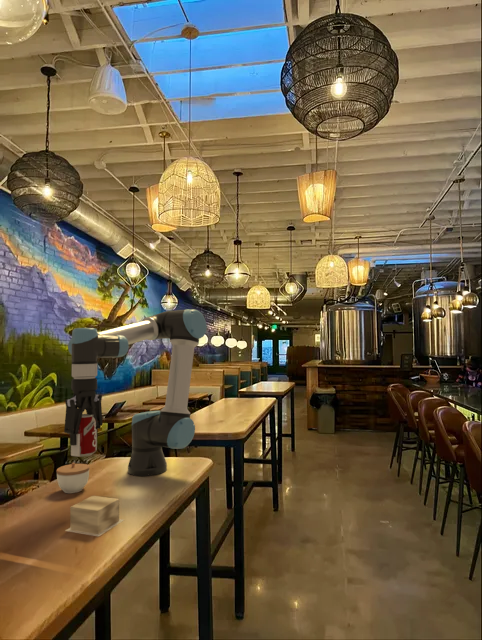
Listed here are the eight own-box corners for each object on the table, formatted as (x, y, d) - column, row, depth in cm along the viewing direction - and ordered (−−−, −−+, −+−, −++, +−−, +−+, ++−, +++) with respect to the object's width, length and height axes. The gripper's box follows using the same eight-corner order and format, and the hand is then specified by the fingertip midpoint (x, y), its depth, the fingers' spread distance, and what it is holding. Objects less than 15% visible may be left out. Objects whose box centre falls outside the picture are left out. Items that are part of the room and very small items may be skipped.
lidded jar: (57, 487, 157) (57, 461, 157) (89, 483, 160) (88, 457, 161) (55, 497, 146) (55, 469, 147) (90, 493, 150) (89, 465, 151)
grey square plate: (88, 514, 131) (88, 510, 131) (129, 520, 126) (129, 516, 126) (53, 533, 118) (53, 529, 118) (97, 541, 113) (97, 537, 113)
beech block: (92, 516, 127) (92, 495, 127) (119, 520, 123) (119, 499, 124) (70, 529, 118) (70, 506, 118) (97, 534, 115) (97, 510, 115)
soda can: (77, 458, 131) (77, 417, 131) (69, 454, 136) (69, 415, 137) (99, 454, 135) (99, 415, 136) (90, 450, 140) (90, 412, 141)
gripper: (96, 375, 147) (96, 445, 146) (50, 380, 129) (49, 459, 128) (114, 375, 145) (114, 446, 143) (70, 380, 126) (70, 462, 125)
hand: (84, 452), depth 136 cm, fingers closed on soda can, 7 cm apart
